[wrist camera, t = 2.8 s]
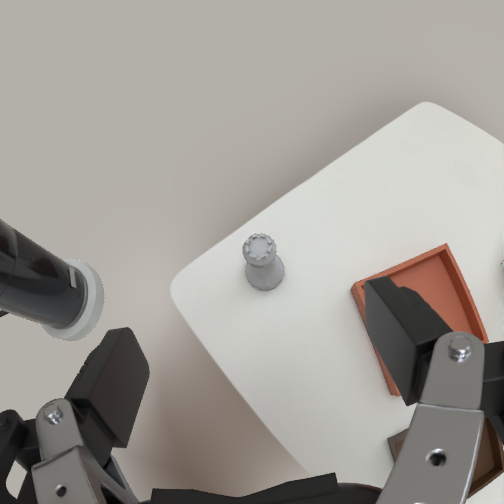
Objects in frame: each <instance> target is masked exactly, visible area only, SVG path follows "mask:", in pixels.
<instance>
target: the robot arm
mask: <svg viewBox="0 0 504 504" xmlns="http://www.w3.org/2000/svg"><path fill="white" fill-rule="evenodd" d="M364 294H365V315H366V326H367V331H368V334H369V337H370V339H371V341H372V342H373V344H374V346H375V348H376V350H377V351H378V353H379V355H380V357H381V359H382V360H383V362H384V364H385V366H386V368H387V370H388V372H389V373H390V375H391V377H392V379H393V381H394V383H395V385H396V387H397V389H398V390H399V392H400V394H401V396H402V398H403V400H404V402H405V404H406V406H409V405H412V404H414V403H417V402H418V403H417V406H416V409H415V412H414V415H413V418H412V420H411V423H410V426H409V429H408V432H407V434H406V437H405V439H404V442H403V445H402V447H401V450H400V452H399V455H398V457H397V459H396V462H395V464H394V466H393V469H392V471H391V473H390V475H389V477H388V480H387V482H386V484H385V486H384V488H383V489H381V488H378V487H374V486H370V485H365V484H358V483H337V478H336V474H335V472H334V473H329V474H325V475H320V476H316V477H311V478H306V479H300V480H294V481H289V482H285V483H283V484H280V485H277V486H274V487H271V488H268V489H266V490H263V491H259V492H256V493H253V494H250V495H247V496H243V497H230V496H224V495H218V494H213V493H208V492H203V491H198V490H193V489H185V490H184V489H183V490H182V489H155V488H153V490H152V495H151V500H147V501H143V502H139V500H138V499H137V498H136V497H135V495H134V494H133V491H132V490H131V488H130V486H129V484H128V482H127V480H126V479H125V477H124V475H123V473H122V471H121V469H120V467H119V465H118V463H117V461H116V459H115V457H114V456H113V455H112V454H111V450H112V447H117V448H127V445H128V441H129V438H130V435H131V432H132V429H133V425H134V422H135V419H136V416H137V413H138V409H139V407H140V403H141V400H142V397H143V394H144V391H145V388H146V385H147V382H148V379H149V374H150V372H149V365H148V362H147V360H146V358H145V356H144V354H143V352H142V350H141V348H140V346H139V344H138V342H137V339H136V337H135V335H134V333H133V331H132V330H131V329H130V328H128V327H126V328H119V329H113V330H108V332H107V333H106V335H105V336H104V338H103V340H102V341H101V343H100V345H98V346H97V347H96V348H95V349H94V350H93V351H92V352H91V353H90V354H89V356H88V357H87V359H86V361H85V362H84V365H83V366H82V367H81V369H80V371H79V372H80V373H78V374H77V376H76V378H75V379H74V381H73V383H72V385H71V386H70V388H69V390H68V392H67V393H66V395H65V397H64V399H62V398H59V399H54V400H52V401H50V402H48V403H46V404H45V405H44V406H43V407H42V408H41V409H40V410H39V412H38V414H37V416H36V418H35V419H30V420H25V421H24V420H23V419H22V418H21V417H20V416H19V414H18V413H17V412H16V411H15V410H6V411H3V412H1V413H0V504H465V502H466V499H467V496H468V492H469V489H470V485H471V481H472V477H473V473H474V469H475V465H476V461H477V456H478V451H479V446H480V441H481V435H482V429H483V422H484V417H488V418H489V420H490V422H491V423H492V425H493V427H494V429H495V431H496V432H497V434H498V436H499V438H500V440H501V442H502V444H503V445H504V341H500V342H494V343H487V344H483V343H482V341H481V340H480V339H479V338H478V337H476V336H475V335H473V334H470V333H467V332H460V331H457V332H454V331H453V330H452V329H451V328H450V327H449V325H448V324H447V323H446V322H445V321H444V320H443V319H442V318H441V317H440V316H439V315H438V313H437V312H436V311H435V310H434V309H432V308H431V306H430V305H429V304H428V303H427V302H425V300H424V299H423V298H422V297H421V296H420V294H419V293H418V292H417V291H414V290H412V289H410V288H408V287H406V286H402V287H398V286H397V285H396V284H395V283H394V282H393V281H392V280H391V279H390V278H389V277H388V276H387V275H386V276H382V277H378V278H374V279H370V280H366V281H365V283H364ZM87 300H88V285H87V281H86V278H85V276H84V275H83V273H82V272H81V271H80V270H79V269H77V268H76V267H74V266H72V265H69V264H68V263H66V262H65V261H63V260H62V259H60V258H58V257H57V256H55V255H53V254H52V253H50V252H49V251H47V250H45V249H44V248H42V247H41V246H39V245H38V244H36V243H35V242H33V241H32V240H30V239H29V238H27V237H26V236H24V235H23V234H21V233H20V232H18V231H17V230H15V229H14V228H12V227H11V226H9V225H8V224H7V223H5V222H4V221H2V220H1V219H0V309H1V311H0V317H2V316H4V315H6V314H8V313H11V314H14V315H17V316H19V317H22V318H26V319H28V320H31V321H34V322H37V323H40V324H43V325H48V326H50V327H52V328H55V329H59V330H64V329H68V328H70V327H72V326H73V325H74V324H76V323H77V322H78V320H79V319H80V318H81V316H82V315H83V313H84V310H85V308H86V305H87ZM15 460H16V461H17V462H18V463H19V464H20V465H21V466H22V467H23V468H24V469H25V470H26V471H27V474H26V476H25V479H24V481H23V484H22V487H21V489H20V492H19V495H18V498H17V499H16V498H15V497H13V496H12V495H11V494H10V493H9V492H8V490H7V487H6V479H7V477H8V474H9V472H10V470H11V467H12V465H13V463H14V461H15Z"/></svg>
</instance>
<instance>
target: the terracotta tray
mask: <svg viewBox="0 0 504 504" xmlns="http://www.w3.org/2000/svg"><path fill="white" fill-rule="evenodd" d="M386 275H387V276H388V277H389V278H390V279H391V280H392V281H393V282H394V283H395V284H396V285H397V286H398V287H402V286H406V287H408V288H410V289H412V290H414V291H417V292H418V293H419V294H420V296H421V297H422V298H423V299H424V300H425V302H427V303H428V304H429V305H430V306H431V308H432V309H434V310H435V311H436V312H437V313H438V315H439V316H440V317H441V318H442V319H443V320H444V321H445V322H446V323H447V324H448V325H449V327H450V328H451V329H452V330H453V331H454V332H457V331H460V332H467V333H470V334H473V335H475V336H476V337H478V338H479V339H480V340H481V341H482V343H483V344H486V343H488V342H489V340H488V337H487V334H486V332H485V329H484V326H483V324H482V321H481V318H480V316H479V313H478V311H477V308H476V306H475V303H474V301H473V298H472V296H471V294H470V291H469V289H468V287H467V284H466V282H465V280H464V278H463V276H462V273H461V271H460V269H459V267H458V265H457V263H456V261H455V259H454V257H453V255H452V253H451V251H450V249H449V247H448V245H447V243H446V244H443V245H441V246H439V247H437V248H435V249H433V250H430V251H428V252H426V253H424V254H422V255H419V256H417V257H415V258H413V259H410V260H408V261H406V262H404V263H401V264H399V265H397V266H394V267H392V268H390V269H387V270H385V271H383V272H380V273H378V274H376V275H373V276H371V277H368V278H366V279H363V280H361V281H359V282H356V283H354V285H353V286H352V288H351V289H350V290H351V292H352V295H353V297H354V300H355V302H356V304H357V307H358V309H359V312H360V314H361V317H362V319H363V321H364V324H365V326H366V315H365V294H364V283H365V281H366V280H370V279H374V278H378V277H382V276H386ZM366 329H367V326H366ZM371 342H372V341H371ZM372 344H373V342H372ZM373 347H374V349H375V352H376V355H377V357H378V360H379V363H380V365H381V368H382V371H383V374H384V376H385V379H386V382H387V385H388V387H389V390H390V393H391V395H394V396H400V395H401V394H400V392H399V390H398V389H397V387H396V385H395V383H394V381H393V379H392V377H391V375H390V373H389V372H388V370H387V368H386V366H385V364H384V362H383V360H382V359H381V357H380V355H379V353H378V351H377V350H376V348H375V346H374V344H373Z"/></svg>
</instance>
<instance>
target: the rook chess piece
mask: <svg viewBox="0 0 504 504" xmlns="http://www.w3.org/2000/svg"><path fill="white" fill-rule="evenodd" d="M242 253H243V255H244V258H245V259H246V260H247V261H248V262H247V264H246V270H245V273H246V277H247V279H248V282H249V283H250V284H251V285H252V286H253V287H255V288H258V289H260V290H269V289H272V288H274V287H276V286H277V285H278V284H279V283H280V282H281V281H282V279H283V276H284V266H283V263H282V261H281V258H280V257H278V256H277V255H276V244H275V242H274V240H273V239H272V238H271V237H270V236H268V235H265V234H262V233H261V234H256V233H255V234H253V235H251V236H250V237H249V238H248V239H247V240H246V241H245V243H244V245H243V252H242Z"/></svg>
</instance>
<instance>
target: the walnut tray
mask: <svg viewBox="0 0 504 504" xmlns="http://www.w3.org/2000/svg"><path fill="white" fill-rule="evenodd" d="M408 429H409V428H408ZM408 429H406V430H404V431H402V432H401V433H399V434H397V435H395V436H393V437H391V438H388V442H389V446H390V449H391V452H392V455H393V458H394V462H396V459H397V457H398V455H399V452H400V450H401V447H402V445H403V442H404V439H405V437H406V434H407V432H408ZM503 472H504V450H503V444H502V442H501V440H500V438H499V436H498V434H497V432H496V431H495V429H494V427H493V425H492V423H491V422H490V420H489V418H488V417H484V422H483V429H482V435H481V441H480V446H479V451H478V456H477V461H476V465H475V469H474V473H473V477H472V481H471V485H470V489H469V492H468V496H467V499H468V498H470V497H471V496H472V495H474V494H475V493H477V492H478V491H480V490H481V489H482V488H484V487H485V486H486V485H488V484H489V483H490V482H492V481H493V480H494V479H496V478H497V477H498V476H499V475H501V474H502V473H503ZM467 499H466V500H467Z"/></svg>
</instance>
